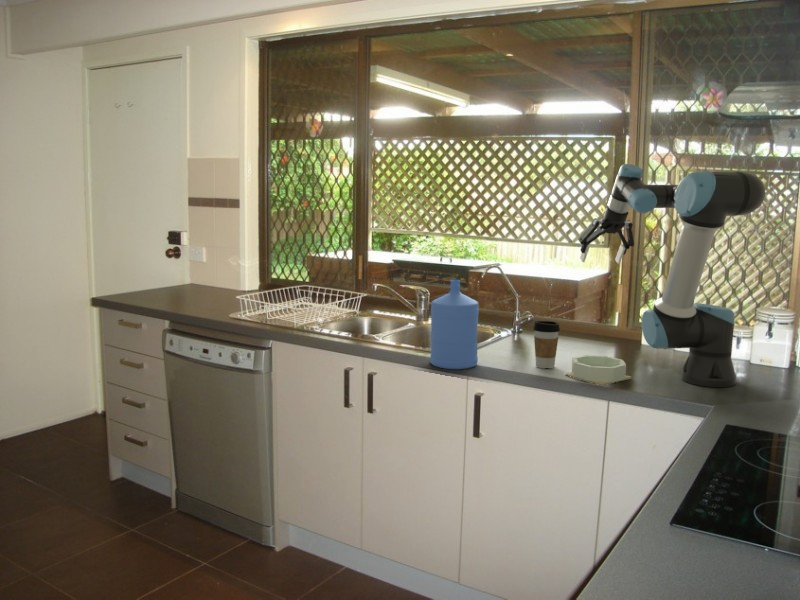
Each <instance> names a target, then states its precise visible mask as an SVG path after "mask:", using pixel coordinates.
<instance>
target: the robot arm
mask: <svg viewBox="0 0 800 600" xmlns="http://www.w3.org/2000/svg"><path fill="white" fill-rule="evenodd" d="M643 172H644V170H643V169H642V168H641V167H640V166H638V165H635V164H631V163H624V164H622V165H621V166H620V168H619V170H618V173H617V174H616V177H615V182H614V183H613V187H612V190H611V193H610V196H609V199H608V202H607V206H606V208H605V211H604V214H603V218H602V219H601V220H600V219H597V218H593V221H592V222H591V224H590V225H589V226H588V228H586V229H585V230H584V232H583V233H582V234H581V236H579V238H578V242H579V243H580V244H581V248H580V256H579V257H580V258H579V259H580V260H581V262H582V263H585V261H586V259H587V255H588V252H589V249H590V247H591V246H590V245H591V243H593V242H595V241H596V240H597V239H598V238H599V237H601V236H602V235H605V234H613V235H614V234H617V235H618V237H619V239H620V241H621V242H622V243H621V244H620V245H619V248H618V251H617V253H616V256H615V259H614V261H615V262H616V263H617V264H618V265H619V264H621V262H622V259H623V257H624V256H625V255H626V254H627V251H628V250H629V249H630V248H631V247H634V246H635V242H634V234H633V225H634V224H633V222H632V221H631V220H629V219H628V220H627V218H628V215H629V212H630V210H631V208H632V209H633V210H634V211H635V212H636V213H639V214H648V213H649V212H652V211H654V209H675V211H676V213H677V214H678V219H679V221H680V222H681V223H682V224H681V227H680V232H679V236H678V239H677V242H676V246H675V250H674V253H673V257H672V260H671V264H670V267H669V272H668V275H667V279H666V282H665V285H664V289H663V292H662V296H661V297H658V298H657V299H656V300H655V301H654V303H653V308H652V309H651V308H650V309H649V308H648V309H647V310H645V311H644V312H643V314H642V317H641V331H642V335H643V337H644V340H645V342H646V344H647V345H649V346H650V347H651V348H653V349H660V350H662V349H663V350H667V349H669V350H670V349H689V350H688V355H687V358H686V360H685V362H684V365H683V367H682V369H681V374H680V375H681V376H680V379H681V380H682V381H684V382H686V383H689V384H692V385H697V386H701V387H709V388H729V387H733V386H735V385H736V382H737V374H736V371H735V368H734V364H733V360H732V351H733V340H734V327H735V324H736V323H735V312H734V311H733V310H732V309H730V308H727V307H723V306H720V305H719V306H718V305H713V304H709V303H698V302H697V303H694V302H695V299H696V296H697V292H698V289H699V286H700V282H701V279H702V277H703V276H702V275H703V273H704V269H705V267H706V263H707V260H708V256H709V253H710V251H711V250H710V249H711V247H712V244H713V240H714V237H715V234H716V231H717V230H719V229H722V228H723V227H724V225H725V222H726V219H727V217H732V216H733V217H736V216H737V217H738V216H745V215H749V214H751V213H753V212H755V211H757V210H758V209H759V208H760V207H761V206H762V204H763V203H764V200H765V198H766V187H765V184H764V182H763V181H762V180H761V179H760V178H759V177H758V176H757V175H755V174H753V173H750V172H746V171H710V170H704V171H693V172H691V173H690V172H689V173H688V174H687V175H685V176H684V177H683V178H682V179H681V180H680V182H679V183H678V184H645V182H643V180H641V179H642V177H643ZM624 227H625V229H626V236H627V237H625V235H624V233H623V231H622V229H623V228H624ZM626 238H627V239H626Z"/></svg>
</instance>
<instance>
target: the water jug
mask: <svg viewBox="0 0 800 600" xmlns="http://www.w3.org/2000/svg"><path fill="white" fill-rule="evenodd" d="M460 282H461V280H460V279H450V286H449V287H450V290H449V292H448V293H446V294H444V295H442V296H440V297H437V298H436V299H434V300H432V301H431V303H430V304H431V306H430V316H431V317H430V319H431V320H430V322H431V323H430V327H431V328H430V358H429V359H430V360H429V361H430V363H431V365H432V366H434V367H437V368H440V369H445V370H466V369H467V370H468V369H470V368H473V367H476V366H477V365H478V363H479V362H478V361H479V358H478V357H479V356H478V325H479V313H480V312H479V311H480V307H479V301H477V300H476V299H473V298H471V297H469V296H468V295H465V294H463V293H462V292H461V291H460V289H461V283H460Z"/></svg>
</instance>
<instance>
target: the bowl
mask: <svg viewBox="0 0 800 600" xmlns="http://www.w3.org/2000/svg"><path fill="white" fill-rule="evenodd" d="M626 374H627V364H626V362H625V361H624V360H623V359H621V358H616V357H612V356H608V355H595V354H594V355H593V354H585V355H579V356H575V357H572V364H571V372H567V373H565V375H568V376H571V377H570V378H572V377H574V378H573V379H575V378H578V379H577V380H579V379H581V380H580V381H583V380H584V382H586V381H588V382H587V383H590V382H591V383H590V384H593V383H595V384H594V385H597V384H598V385H597V386H600V387H604V386H608V385H612V384H616V383H620V382H624V381H627V380H632V376H630V375H626ZM568 376H567V377H568ZM619 381H620V382H619ZM615 382H616V383H615ZM611 383H612V384H611ZM607 384H608V385H607Z"/></svg>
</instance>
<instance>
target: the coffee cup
mask: <svg viewBox="0 0 800 600" xmlns="http://www.w3.org/2000/svg"><path fill="white" fill-rule="evenodd" d="M560 330H561V329H560V323H559V322H556V321H552V320H551V321H550V320H535V321H534V326H533V331H534V335H533V339H534V358H535V367H536V366H537V367H539V368H538V369H541V368H552V369H554V368H555V364H556V363H555V362H556V357H557V348H558V342H559V332H560ZM537 367H536V368H537Z"/></svg>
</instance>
